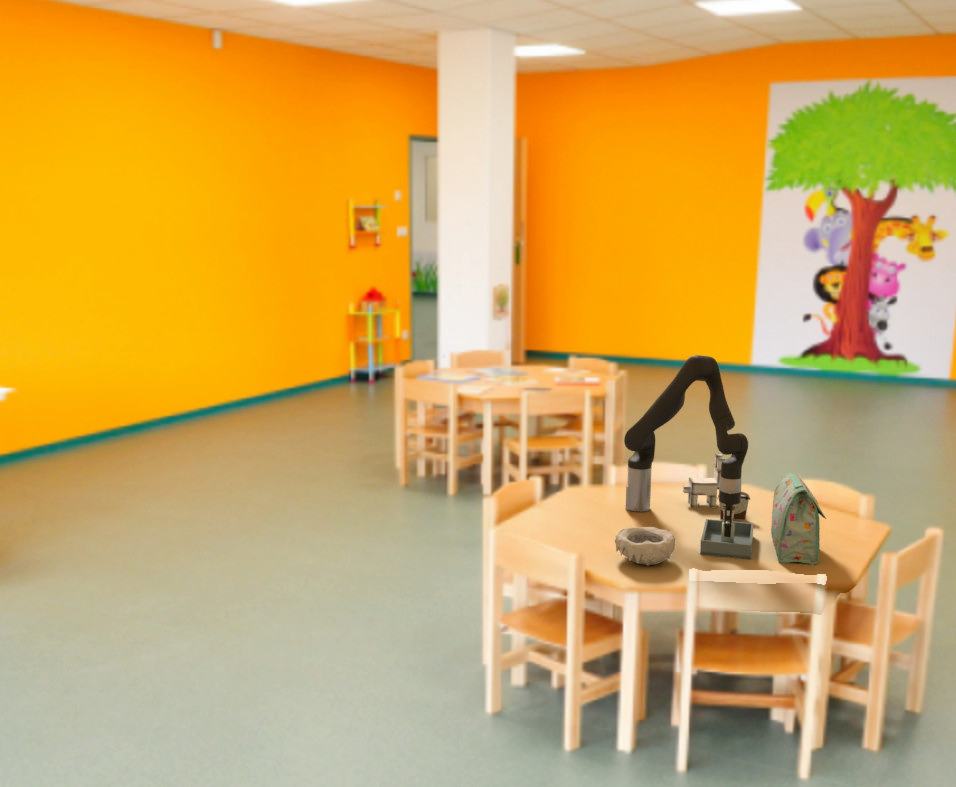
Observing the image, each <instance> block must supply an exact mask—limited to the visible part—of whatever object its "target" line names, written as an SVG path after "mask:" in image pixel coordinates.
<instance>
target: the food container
mask: <svg viewBox="0 0 956 787" xmlns="http://www.w3.org/2000/svg"><path fill="white" fill-rule="evenodd" d="M717 500H718V501H719V494H717ZM749 501H751V497H750V494H749V493H747V492H745V491H741V502H740V503H739V504H736V505H735V504H734V505H733V506H735V513H734V517H733V521H746V517H747V513H748V512H747V511H748V507H749V506H748V505H749ZM718 503H719V520H723V515H724V513H723V508H724V506H726V504H724V503H721V502H720V501H719V502H718Z"/></svg>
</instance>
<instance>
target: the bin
mask: <svg viewBox="0 0 956 787" xmlns="http://www.w3.org/2000/svg"><path fill="white" fill-rule="evenodd" d="M722 522H724V520H723V519H712V518H711V519H710V518H705V522H704V526H703V530H702V535H701V538H700V549H699V551H700V553H699V554H700V555H705V556H711V557H713V556H714V557H723V558H730V559H731V558H732V559H733V558H734V559H741V560H743V559H744V560H752V550H753V549H752V548H753V539H754V523H753V522H745V521H744V522H742V521H741V522H740V521H735V520H733V521H732V522H733V523H735V530H734V543H727V542H721V534H722Z"/></svg>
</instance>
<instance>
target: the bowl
mask: <svg viewBox="0 0 956 787" xmlns="http://www.w3.org/2000/svg"><path fill="white" fill-rule="evenodd" d="M614 543H615V552H618V551H619V552H620V556H622V555H623V556H624V557H626V558H627V560H628V561H629V562H630V561H632V562H634V563H636V564H639V565H646V566H647V567H648V566H650V565H658V564H660V563H662V562H664V561H666V560H670V559H671V557H672V554H673V553H674V550H676V549H675V547H676V538H675V534H674V532H673V531H668V530H667V529H660V528H658V527H656V526H655V527H654V526H648V527H647V526H645V527H642V526H639V527H634V526H629V527H625V528H623V529H621V530H619V532H618V533H617V534H616V535H615V539H614Z"/></svg>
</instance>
